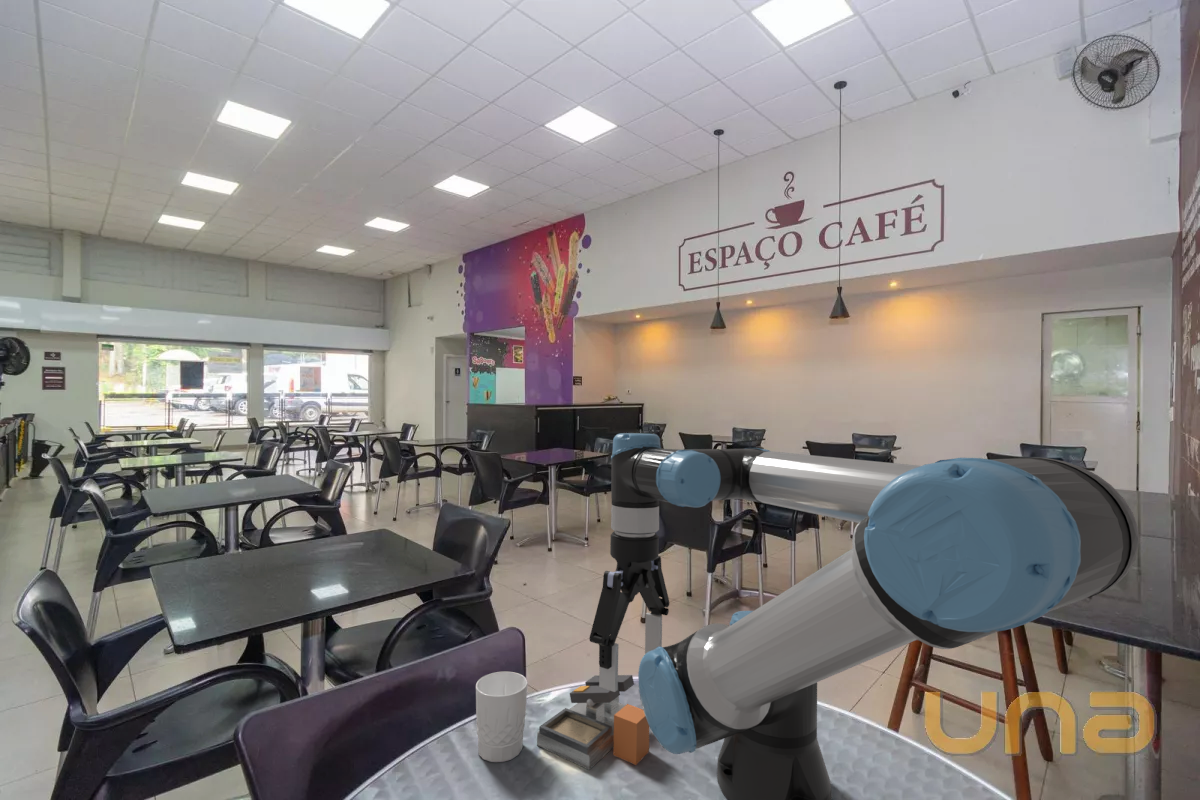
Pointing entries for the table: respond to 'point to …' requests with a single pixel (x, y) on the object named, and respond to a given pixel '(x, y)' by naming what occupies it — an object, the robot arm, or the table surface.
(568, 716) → the gray metal tray
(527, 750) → the table surface
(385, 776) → the table surface
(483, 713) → the white cup
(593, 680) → the block
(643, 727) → the cap
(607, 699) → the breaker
